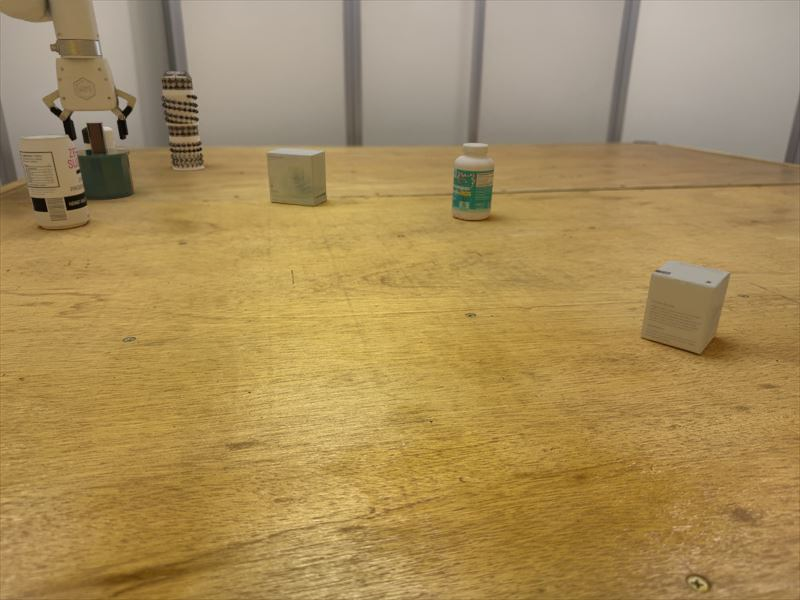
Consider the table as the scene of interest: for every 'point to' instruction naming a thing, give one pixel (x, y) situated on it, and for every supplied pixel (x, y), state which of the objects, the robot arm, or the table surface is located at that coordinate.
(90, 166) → the storage jar
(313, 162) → the cosmetics box
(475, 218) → the pill bottle
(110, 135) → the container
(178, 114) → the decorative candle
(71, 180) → the supplement can
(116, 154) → the jar lid
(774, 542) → the table surface
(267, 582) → the table surface
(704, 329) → the white cardboard box
